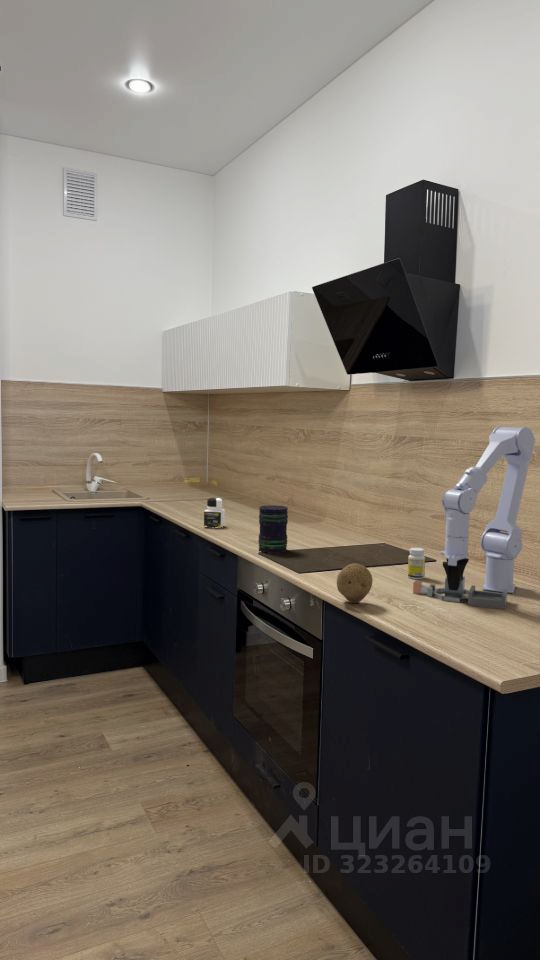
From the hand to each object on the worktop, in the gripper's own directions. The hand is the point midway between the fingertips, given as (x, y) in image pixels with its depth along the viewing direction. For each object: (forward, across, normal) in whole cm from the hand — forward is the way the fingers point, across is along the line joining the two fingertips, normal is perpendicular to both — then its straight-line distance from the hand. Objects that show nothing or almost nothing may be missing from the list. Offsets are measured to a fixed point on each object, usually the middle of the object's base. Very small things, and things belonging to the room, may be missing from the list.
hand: (454, 587), depth 179 cm
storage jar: (+2, -35, -65) cm, 74 cm away
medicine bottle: (+2, -70, -105) cm, 126 cm away
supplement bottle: (+2, -17, -13) cm, 22 cm away
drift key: (+2, 0, -8) cm, 9 cm away
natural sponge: (+2, +18, -22) cm, 29 cm away
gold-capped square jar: (+2, 0, 0) cm, 2 cm away
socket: (+2, 0, 0) cm, 2 cm away
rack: (+2, +3, +8) cm, 9 cm away
